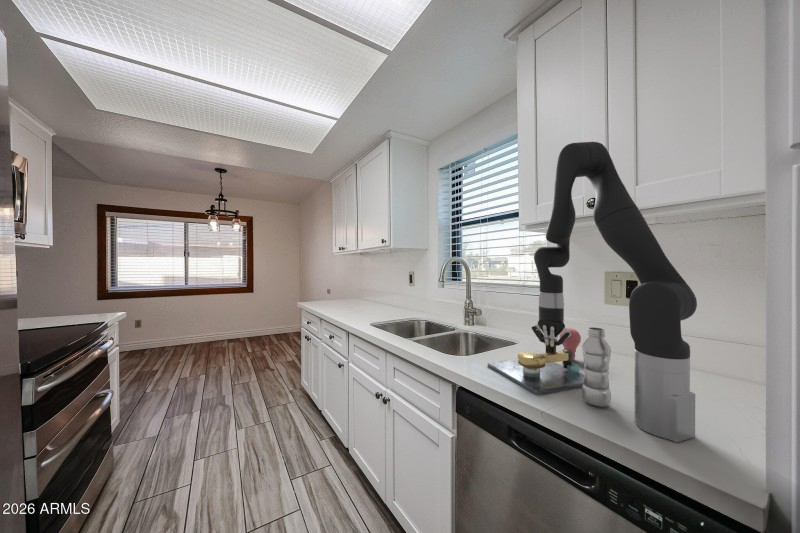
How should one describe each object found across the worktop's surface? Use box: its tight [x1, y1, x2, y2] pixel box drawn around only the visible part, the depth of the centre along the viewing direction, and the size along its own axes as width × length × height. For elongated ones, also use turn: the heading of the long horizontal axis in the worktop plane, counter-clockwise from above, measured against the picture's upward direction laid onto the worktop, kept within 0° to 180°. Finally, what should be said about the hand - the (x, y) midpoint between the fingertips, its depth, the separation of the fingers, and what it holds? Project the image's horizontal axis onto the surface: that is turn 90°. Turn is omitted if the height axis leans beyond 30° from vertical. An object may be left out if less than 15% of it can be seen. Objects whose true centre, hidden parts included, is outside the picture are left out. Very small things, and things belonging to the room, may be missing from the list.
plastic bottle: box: [581, 326, 612, 408], centre depth 76 cm, size 6×7×20 cm
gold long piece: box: [517, 348, 574, 368], centre depth 94 cm, size 20×8×6 cm, turn 106°
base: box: [487, 358, 584, 396], centre depth 97 cm, size 24×23×5 cm
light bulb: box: [558, 327, 582, 360], centre depth 111 cm, size 7×7×12 cm
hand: (550, 356), depth 98 cm, fingers closed
